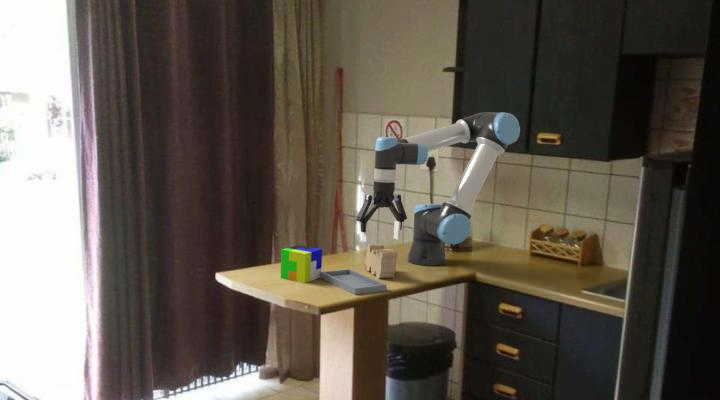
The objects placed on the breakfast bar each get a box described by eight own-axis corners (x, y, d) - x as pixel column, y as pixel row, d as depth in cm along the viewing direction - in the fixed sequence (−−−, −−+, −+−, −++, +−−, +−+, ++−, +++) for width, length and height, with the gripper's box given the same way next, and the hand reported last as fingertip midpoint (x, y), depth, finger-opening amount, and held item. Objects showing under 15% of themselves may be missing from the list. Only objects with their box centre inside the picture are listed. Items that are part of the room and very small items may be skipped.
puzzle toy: (321, 277, 221) (322, 249, 219) (304, 283, 212) (305, 253, 211) (297, 272, 226) (298, 245, 224) (280, 278, 217) (281, 249, 216)
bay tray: (320, 277, 220) (320, 271, 220) (349, 274, 226) (349, 268, 226) (354, 294, 201) (355, 288, 200) (386, 290, 207) (386, 284, 207)
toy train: (378, 268, 237) (379, 242, 235) (396, 280, 221) (397, 252, 219) (364, 269, 235) (365, 242, 233) (381, 281, 219) (382, 252, 218)
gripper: (406, 179, 233) (403, 236, 236) (348, 180, 220) (345, 240, 222) (419, 181, 227) (415, 240, 230) (360, 182, 214) (356, 244, 216)
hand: (380, 240), depth 226 cm, fingers open, 13 cm apart
